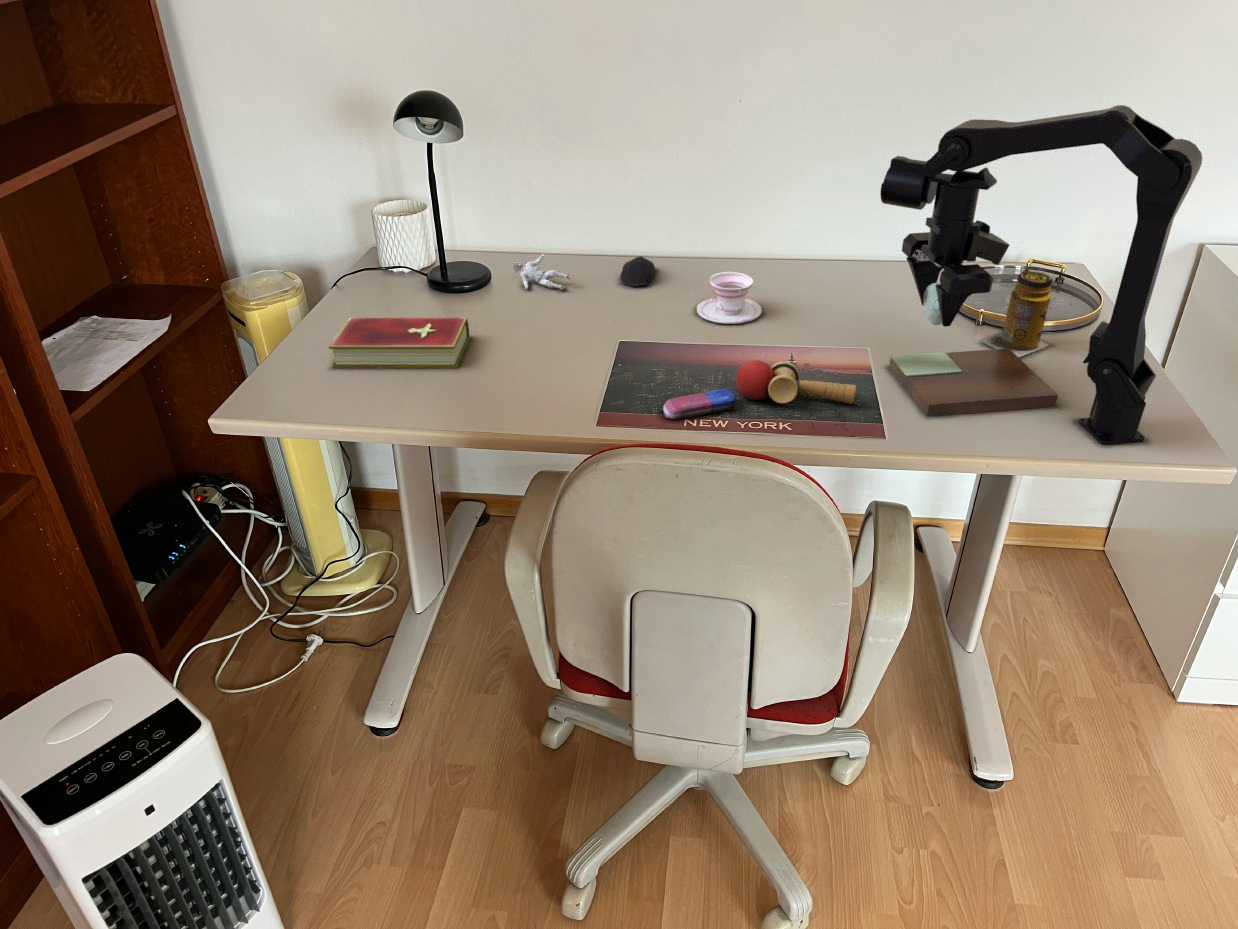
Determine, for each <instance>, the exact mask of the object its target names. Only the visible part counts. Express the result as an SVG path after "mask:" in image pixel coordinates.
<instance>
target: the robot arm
mask: <svg viewBox="0 0 1238 929" xmlns="http://www.w3.org/2000/svg"><path fill="white" fill-rule="evenodd" d="M1101 144H1103V145H1104V146H1105V147H1106V148H1108V149H1109V150H1110V151H1111V152H1112V153H1113V154H1114V156H1115V157H1116V158H1117V159H1118V160H1119V161H1120V163H1121V164H1122V165H1123V166H1124V167H1125V168H1126V169H1127V170H1128V171H1130V172H1131V173H1132V174H1133V175H1135V176H1136V177H1137V183H1136V195H1135V202H1136V214H1137V215H1136V216H1137V218H1136V224H1135V227H1134V232H1133V236H1132V239H1131V243H1130V247H1129V250H1128V255H1127V257H1126V260H1125V266H1124V270H1123V273H1122V275H1121V276H1122V277H1121V280H1120V283H1119V284H1120V285H1119V287H1118V292H1117V294H1116V298H1115V302H1114V306H1113V309H1112V314H1111V317H1110V320H1109V322H1106V321H1103V320H1102V321H1100V323H1099V324H1098V325H1097V327H1096V328H1095V329H1094V331H1093V332H1092V333H1091V335H1090V337H1089V341H1088V342H1089V343H1088V353H1087V355H1086V357H1085V358H1084V359H1083V361H1082V363H1083V364H1085V365H1086V364H1087V366H1086V373H1087V374H1086V375H1087V377H1088V378H1089V379H1090V380H1091V381H1092V383H1093V384H1094V385H1095V396H1094V398H1093V402H1092V405H1091V409H1090V411H1089V417H1083V418H1079V419H1078V423H1079V424H1080V426H1082V427H1083V428H1084V429H1085V430H1086V431H1087V432H1088V433H1089V434H1090V435H1091V436H1092V437H1093V438H1094V439H1096V441H1098V443H1099V444H1102V445H1110V444H1121V443H1123V444H1124V443H1135V442H1143V441H1145V438H1146V436H1144V435H1143V433H1141V432H1140V431H1139V430H1138V429H1139V428H1140V424H1141V421H1142V417H1143V416H1144V415H1143V414H1144V411H1145V409H1146V406H1147V401H1145V400H1146V394H1147V393H1148V391H1149V389H1150V387H1151V385H1153V382H1154V381H1155V379H1156V377H1157V374H1156V373H1155V371H1154V370H1153V369H1152V367H1151V366H1150V365H1149V363H1148V361H1147V360H1146V358H1145V353H1146V342H1147V341H1146V340H1147V339H1146V338H1147V332H1146V316H1147V313H1148V310H1149V306H1150V302H1151V298H1152V294H1153V292H1154V289H1155V288H1154V287H1155V285H1156V282H1157V278H1158V275H1159V272H1160V267H1161V264H1162V261H1163V258H1164V255H1165V250H1166V248H1167V243H1168V239H1169V236H1170V234H1171V230H1172V227H1173V223H1174V220H1175V218H1176V215H1177V213H1178V211H1179V210H1180V208H1181V206H1182V204H1183V202H1184V201H1185V198H1186V197H1187V195H1188V193H1189V191H1190V189H1191V188H1192V185H1193V183H1194V181H1195V179H1196V177H1197V176H1198V173H1199V171H1200V168H1201V167H1202V164H1203V153H1202V151H1201V150H1200V149H1199V147H1198V146H1197V144H1195V143H1194V142H1192V141H1190V140H1187V139H1184V138H1175V136H1173V135H1171V134H1170V133H1169V132H1168V131H1166V130H1165V129H1163V128H1162V127H1160V126H1158V125H1156V124H1155V123H1152V122H1151V121H1149V120H1148V119H1145V118H1143V116H1141V115H1139V114H1138V113H1137V112H1135V111H1134V110H1133V109H1132V108H1131V107H1130V106H1127V105H1124V104H1123V105H1119V104H1118V105H1114V106H1112V107H1109V108H1105V109H1099V110H1091V111H1085V112H1077V113H1072V114H1063V115H1059V116H1058V115H1057V116H1050V117H1045V118H1039V119H1038V118H1037V119H1031V120H1025V121H1004V120H998V119H975V118H974V119H969V120H966V121H963V122H962V123H960V124H957V125H956V126H955V127H952V128H951V129H949V130H947V131H946V132H945V133H944V134H943V135H942V137H941V138H940V140H939V143H938V147H937V151H936V152H935V153H934V154H933V156H931V157H930V158H929V159H927V160H919V159H913V158H908V157H907V156H903V155H896V156H895V157H893V158H891V159H890V166H889V168H888V169H887V171H886V172H885V176H884V179H883V182H882V183H881V186H880V193H879V194H880V201H881V203H882V204H883V205H888V206H889V205H890V206H896V207H902V208H908V209H911V210H912V209H913V210H918V211H921V210H923V209H924V208H925V207H926V205H928V204H929V205H931V204H932V203H933V201H934V203H933V208H932V216H931V217H926V218H925V226H927V227H928V228H929V231H926V232H912V233H909V234H907V235H906V236H905V237H904V238H903V240H902V246H901V252H902V253H903V254H904V255H905V256H906V261H907V264H908V266H909V268H910V271H911V274H912V277H913V280H914V284H915V286H916V290H917V293H918V296H919V300H920V303H921V305H922V307H924V301H923V297H924V292H925V290H926V289H927V287H928V286H929V285H931V284H932V283H936V282H937V283H938V280H939V283H940V285H936V291H937V297H938V303H939V310H940V316H941V321H942V323H941V325H942V327H951V325H952V324H953V322H954V320H955V318H956V317H957V314H958V313H959V311H960V310H961V308H962V307H963V305H964V304H965V302H966V300H967V299H968V298H969V297H970V296H972V295H976V294H989V293H990V292H991V291H992V287H993V283H994V282H993V281H994V278H993V276H992V275H991V274H990V273H989V272H988V271H987V270H986V269H985V268H983V267H982V266H981V265H980V264H979V263H977V264H963V263H964V262H968V263H969V262H971V263H972V262H976V261H977V258H978V259H982V260H985V261H988V262H991V263H992V264H993V265H997V266H999V265H1000V263H1001V262H1002V260H1003V258H1004V257H1005V254H1006V253H1007V251H1008V249H1009V247H1010V244H1009V243H1008V242H1006V241H1005V240H1004V239H1002V238H1001V237H999V236H998V235H996V234H994V233H993V232H991V226H990V225H989V224H988V223H986V222H985V221H981V220H978V219H977V220H975V215H976V210H977V205H978V199H979V194H980V190H982V191H988V190H990V189H991V188H992V187H994V186H995V185H996V184H997V183H998V180H997V179H996V177H995V176H994V175H992V173H991V172H990V170H989V167H986V166H985V167H984V168H982V169H980V170H979V171H978V172H977V171H969V170H970V169H974V168H977V167H980V166H983V165H986V164H989V163H992V162H994V161H997V160H999V159H1003V158H1007V157H1010V156H1013V155H1014V156H1015V155H1022V154H1029V153H1039V152H1046V151H1053V150H1060V149H1070V148H1077V147H1086V146H1093V145H1101ZM947 171H952V172H954V173H945V172H947ZM974 220H975V222H974Z"/></svg>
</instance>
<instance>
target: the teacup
mask: <svg viewBox="0 0 1238 929" xmlns="http://www.w3.org/2000/svg"><path fill="white" fill-rule="evenodd" d="M709 283H710V284H709V285H710V286H711V288H712V289H713V293H714V294H715V296H714V297H710V298H707V299H704V300H703V301H701V302H699V303H698V305H697V306H696V313H697V314H698V316H699V317H701V318H702V319H704V320H706V321H709V322H712V323H717V324H724V325H725V324H727V325H728V324H729V325H736V324H745V323H748V322H751V321H754V320H756V319H758V318H759V317H760V316H761V315H762V312H763V311H762V307H761V305H760V304H759V303H758V302H756V301H754V300H752V299H749V298H746V295H747V294H748V292H749V290H750V289H751V288H752V287H753V285H754V279H753V278H752V277H751V276H749V275H748V274H745V273H742V272H738V271H737V272H736V271H722V272H717V273H714V274H712V275H711V276H710V278H709Z"/></svg>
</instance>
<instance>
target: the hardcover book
mask: <svg viewBox="0 0 1238 929" xmlns="http://www.w3.org/2000/svg"><path fill="white" fill-rule="evenodd" d="M469 341H470V327H469V320H468V317H349V318H348V319H347V321H346V322H345V323H344V324H343V326H342V327H341V329H340V330H339V332H338V333H337V334H336V336H335V337H334V339H333V340H332V341H331V343H330V344H329V346H328V349H330V350H332V354H333V358H334V363H333V365H332V368H333V369H457V368H458V367H459V365H460V362H461V359H462V358H463V354H464V353H465V350H466V348H467V346H468V343H469Z"/></svg>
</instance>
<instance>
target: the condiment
mask: <svg viewBox="0 0 1238 929" xmlns="http://www.w3.org/2000/svg"><path fill="white" fill-rule="evenodd" d="M1052 284H1053V278H1052V277H1051V276H1050V275H1048V274H1046V273H1043V272H1038V271H1024V272H1021V273H1019V275H1018V276H1017V278H1016V283H1015V285H1014V288H1013V289H1012V290H1011V294H1010V296H1009V302H1008V307H1007V311H1006V315H1005V319H1004V323H1003V327H1002V328H1003V329H1002V333H1001V334H999V335H995V336H993V337H990V338H988V339H984V340H982V341H981V343H983V344H985V345H987V346H989V347H991V348H993V349H1007V348H1009V349H1010V350H1011V351H1012V352H1013V353H1014V354H1015V355H1016V356H1017V357H1019V358H1021V357H1024V356H1026V355H1029V354H1031V353H1034V352H1038V351H1039V350H1041V349H1044V348H1046V347H1049V346H1050V343H1047V342H1045V341H1042V340H1041V337H1042V333H1043V329H1044V325H1045V321H1046V317H1047V313H1048V310H1049V306H1050V302H1051V293H1050V292H1051V289H1052Z"/></svg>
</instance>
